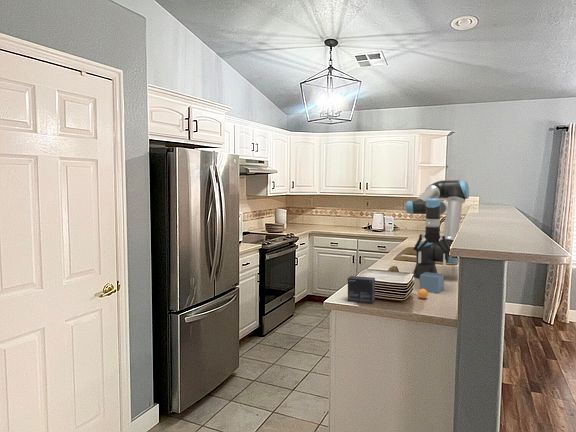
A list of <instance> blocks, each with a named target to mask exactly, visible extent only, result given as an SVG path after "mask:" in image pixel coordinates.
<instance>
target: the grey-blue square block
mask: <svg viewBox="0 0 576 432" xmlns="http://www.w3.org/2000/svg"><path fill="white" fill-rule="evenodd" d="M444 274H445V273H430V272H425V273H423V274H421V275H420V278H419V290H420V289H425V290H426V291H427V292H428V293H431V294H440V293H441V292H442V291H444V287H445V284H444V283H445V282H444V281H445V279H444V278H445V277H444Z"/></svg>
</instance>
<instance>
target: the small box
mask: <svg viewBox="0 0 576 432" xmlns="http://www.w3.org/2000/svg"><path fill="white" fill-rule="evenodd" d="M375 300H376V278H375V277H372V276H371V277H370V276H368V277H367V276H357V275H350V276H349V277H347V302H353V303H354V302H355V303H363V304H364V303H365V304H373V303H374V302H375Z"/></svg>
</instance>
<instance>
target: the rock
mask: <svg viewBox="0 0 576 432" xmlns="http://www.w3.org/2000/svg"><path fill="white" fill-rule="evenodd" d="M387 271H391V272H399V273H400V271H399V267H398V266H397V265H396V266H395V265H392V266H390V267H388V270H387Z"/></svg>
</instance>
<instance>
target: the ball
mask: <svg viewBox="0 0 576 432" xmlns="http://www.w3.org/2000/svg"><path fill="white" fill-rule="evenodd" d="M417 295H418V297H419V298H420V299H426V298H427V297H428V296H429V292H427V291H426V290H425V289H420V288H419V290H418V291H417Z"/></svg>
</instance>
